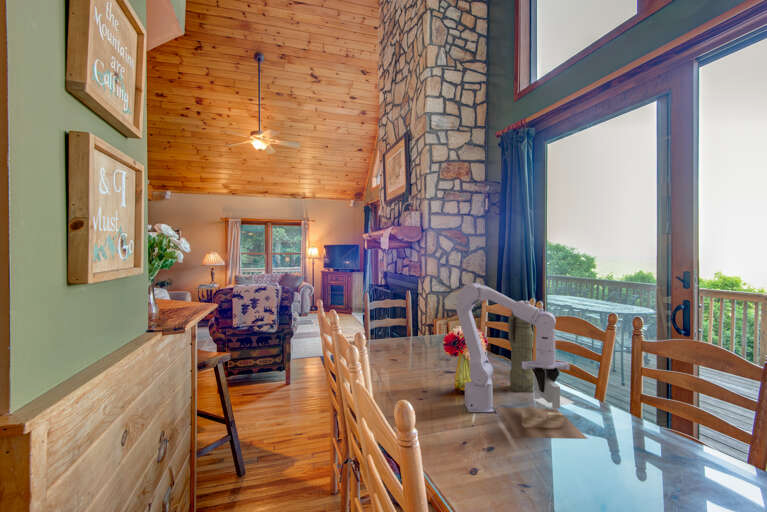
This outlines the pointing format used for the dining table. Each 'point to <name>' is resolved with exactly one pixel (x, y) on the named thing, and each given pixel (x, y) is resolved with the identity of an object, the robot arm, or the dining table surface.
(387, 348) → the dining table surface
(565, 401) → the hard drive
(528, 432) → the base
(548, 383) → the long gray bar
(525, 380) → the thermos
